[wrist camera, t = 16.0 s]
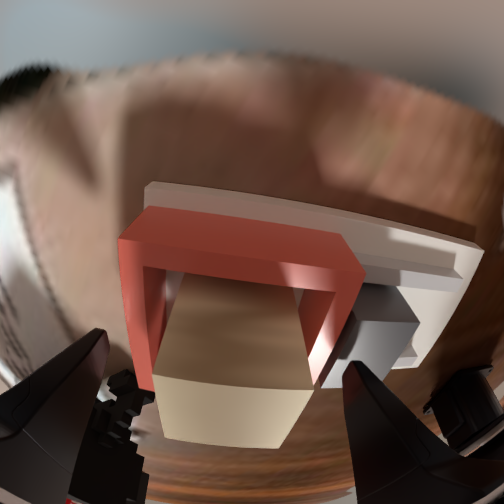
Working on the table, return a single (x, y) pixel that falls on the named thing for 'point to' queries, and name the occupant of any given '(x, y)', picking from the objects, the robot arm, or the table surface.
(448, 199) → the table surface
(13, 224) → the table surface
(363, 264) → the slide switch base
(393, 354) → the toggle
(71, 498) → the security camera
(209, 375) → the block
